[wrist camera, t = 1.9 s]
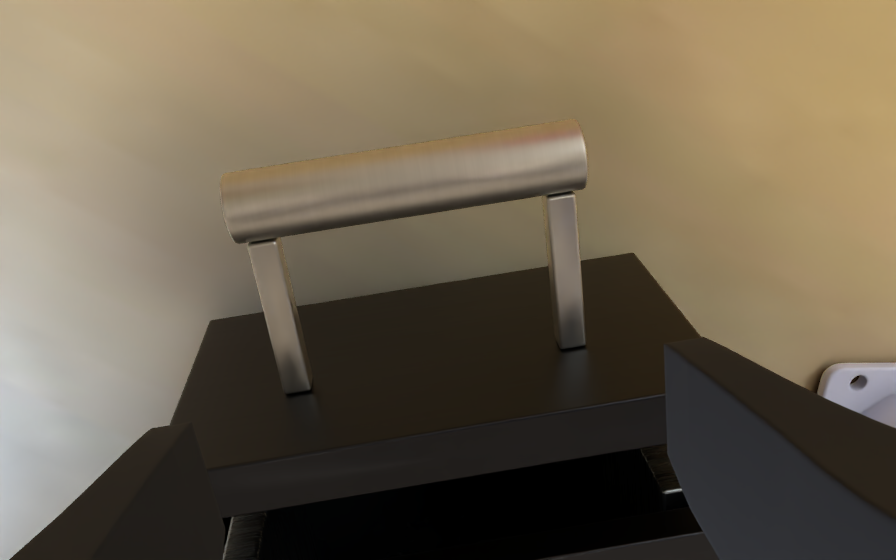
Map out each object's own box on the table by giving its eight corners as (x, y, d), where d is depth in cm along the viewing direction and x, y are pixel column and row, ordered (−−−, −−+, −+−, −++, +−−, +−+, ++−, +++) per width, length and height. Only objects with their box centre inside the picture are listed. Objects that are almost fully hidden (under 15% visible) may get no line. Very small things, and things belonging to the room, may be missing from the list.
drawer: (157, 139, 20) (61, 239, 13) (625, 66, 20) (742, 132, 14) (312, 680, 27) (296, 905, 21) (650, 621, 28) (732, 825, 21)
